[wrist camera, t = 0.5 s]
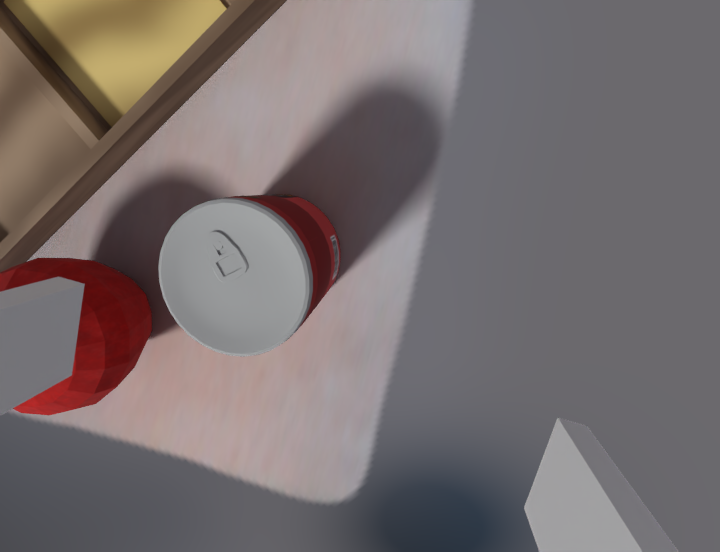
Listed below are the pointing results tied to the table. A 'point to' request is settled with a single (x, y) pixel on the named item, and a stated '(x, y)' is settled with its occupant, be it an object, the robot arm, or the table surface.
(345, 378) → the table surface
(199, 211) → the canned food
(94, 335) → the apple
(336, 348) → the table surface
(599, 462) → the robot arm
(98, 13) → the caddy
